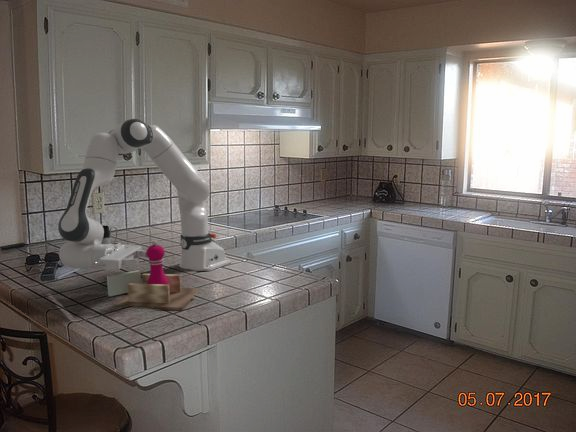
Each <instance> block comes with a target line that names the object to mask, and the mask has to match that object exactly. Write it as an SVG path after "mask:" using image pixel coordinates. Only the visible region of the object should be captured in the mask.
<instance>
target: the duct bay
mask: <svg viewBox="0 0 576 432" xmlns="http://www.w3.org/2000/svg"><path fill="white" fill-rule="evenodd" d="M164 274H165V276H166V278H167V280H168V284H169V285H166V284H147V282H148V279H149V276H150V273H142V274H141V284H135V283H129V284H128V293H126V294H125V295H124V296H123V297H121V298H120V299H119V300H117V301H116V302H114V303H113V304H112V305H113V306H127V307H129V306H131V307H150V308H149V310H159V311H184V309H186V308H187V307H188V306H189V304H191V302H192V301H193V300H194V299H195V298H194V296H195V295H197V293H198V292H199V291H200V290H202V289H201V287H198V288H197V287H182V275H181V274H176V273H175V274H173V273H171V274H169V273H168V274H167V273H164Z"/></svg>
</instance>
